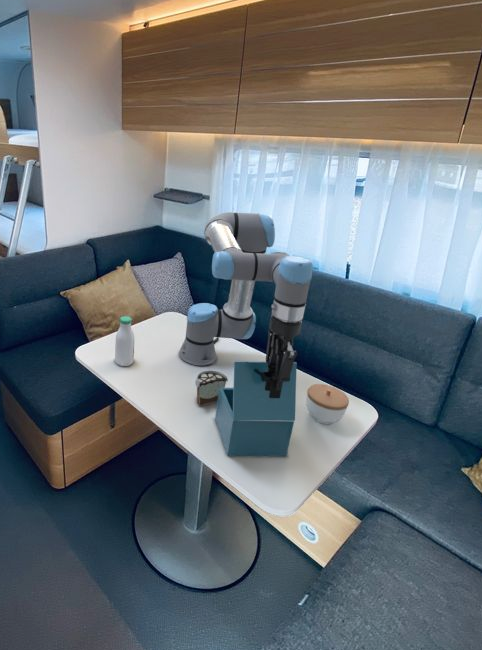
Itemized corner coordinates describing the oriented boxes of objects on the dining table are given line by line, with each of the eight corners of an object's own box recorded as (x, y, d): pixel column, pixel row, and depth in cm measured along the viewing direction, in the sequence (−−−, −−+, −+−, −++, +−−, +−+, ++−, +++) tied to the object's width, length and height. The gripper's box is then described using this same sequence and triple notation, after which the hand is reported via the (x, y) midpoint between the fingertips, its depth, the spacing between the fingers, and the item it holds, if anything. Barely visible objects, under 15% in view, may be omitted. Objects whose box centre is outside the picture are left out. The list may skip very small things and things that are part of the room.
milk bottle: (131, 367, 166) (133, 323, 159) (113, 365, 167) (114, 321, 160) (134, 357, 173) (136, 315, 166) (117, 355, 174) (118, 313, 167)
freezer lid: (234, 361, 118) (244, 368, 109) (295, 362, 119) (310, 369, 110) (232, 419, 118) (242, 431, 110) (293, 419, 119) (308, 432, 110)
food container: (215, 390, 153) (218, 367, 150) (225, 399, 148) (228, 376, 144) (186, 396, 149) (189, 373, 145) (195, 407, 144) (198, 383, 140)
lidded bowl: (296, 405, 146) (301, 379, 142) (330, 404, 147) (336, 378, 143) (314, 430, 134) (321, 402, 130) (351, 429, 135) (358, 401, 131)
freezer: (214, 419, 138) (219, 387, 133) (267, 420, 138) (273, 388, 134) (227, 455, 123) (232, 420, 118) (286, 456, 123) (294, 421, 119)
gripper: (261, 303, 112) (249, 376, 120) (284, 331, 97) (268, 412, 105) (288, 304, 112) (274, 377, 120) (315, 331, 97) (297, 412, 105)
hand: (272, 393), depth 113 cm, fingers closed on freezer lid, 3 cm apart
